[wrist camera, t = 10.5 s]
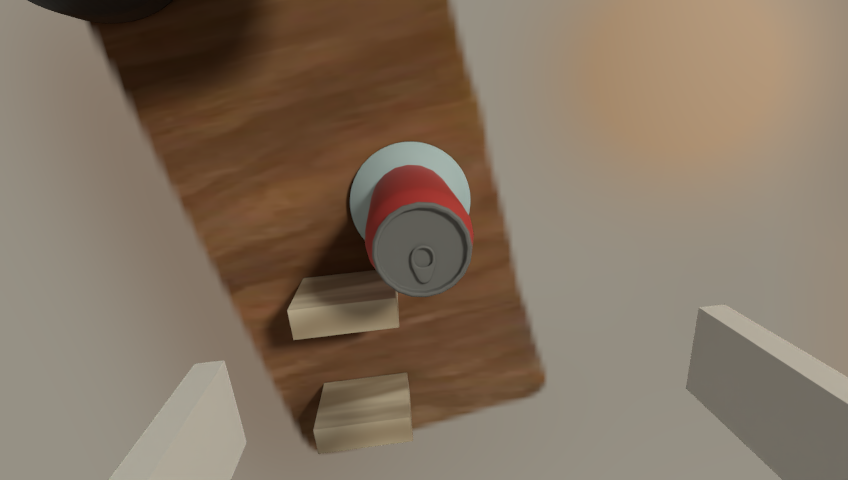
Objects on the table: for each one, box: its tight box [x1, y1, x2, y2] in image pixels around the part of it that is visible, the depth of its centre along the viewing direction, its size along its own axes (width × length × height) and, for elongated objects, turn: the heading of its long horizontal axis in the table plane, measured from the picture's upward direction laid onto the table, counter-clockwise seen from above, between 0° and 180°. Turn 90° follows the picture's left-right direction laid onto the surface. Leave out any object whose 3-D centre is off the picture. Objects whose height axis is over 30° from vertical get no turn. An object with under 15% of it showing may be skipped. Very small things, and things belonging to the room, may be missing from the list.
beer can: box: [365, 165, 474, 297], centre depth 28 cm, size 7×7×12 cm
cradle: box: [287, 270, 413, 454], centre depth 35 cm, size 14×8×6 cm, turn 5°
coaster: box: [350, 141, 470, 240], centre depth 34 cm, size 10×10×1 cm
